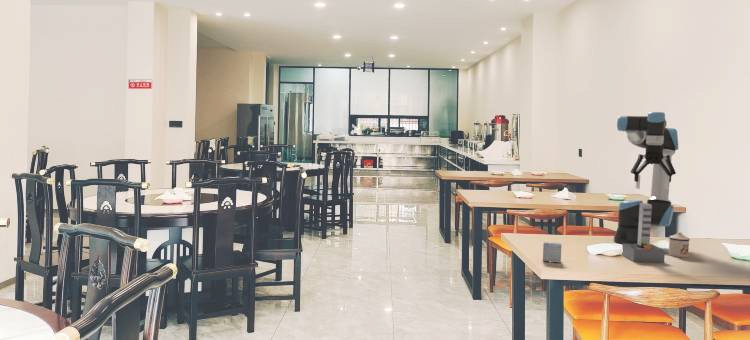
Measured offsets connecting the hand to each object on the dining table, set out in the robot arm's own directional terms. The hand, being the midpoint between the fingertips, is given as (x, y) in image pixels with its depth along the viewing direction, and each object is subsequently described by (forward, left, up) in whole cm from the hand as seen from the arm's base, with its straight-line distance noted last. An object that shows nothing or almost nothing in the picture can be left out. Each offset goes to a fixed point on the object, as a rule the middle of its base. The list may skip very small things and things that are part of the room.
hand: (652, 188), depth 282 cm
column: (+5, -5, -27) cm, 28 cm away
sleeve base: (+5, -5, -33) cm, 34 cm away
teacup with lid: (-7, +18, -34) cm, 39 cm away
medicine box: (+17, -51, -34) cm, 63 cm away
